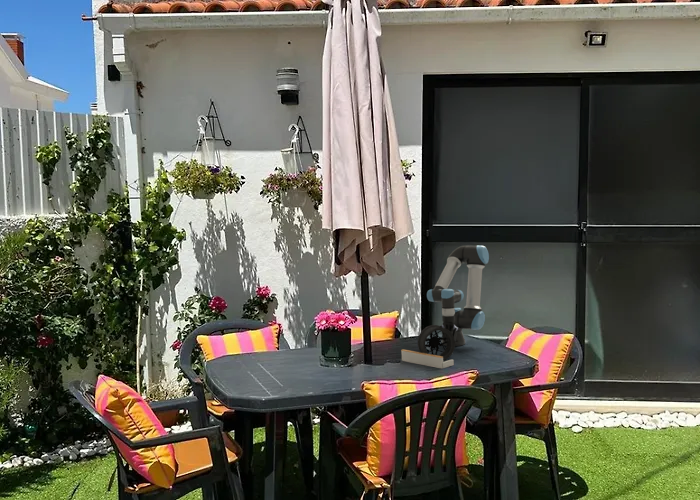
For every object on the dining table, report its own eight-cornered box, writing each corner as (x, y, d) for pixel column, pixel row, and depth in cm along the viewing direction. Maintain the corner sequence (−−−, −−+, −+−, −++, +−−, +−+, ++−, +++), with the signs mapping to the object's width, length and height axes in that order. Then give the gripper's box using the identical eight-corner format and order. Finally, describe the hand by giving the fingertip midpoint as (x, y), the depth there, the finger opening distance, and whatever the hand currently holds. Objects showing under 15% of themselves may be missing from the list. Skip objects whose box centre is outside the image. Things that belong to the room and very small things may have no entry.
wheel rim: (449, 356, 387) (448, 323, 386) (455, 359, 378) (454, 326, 377) (418, 360, 382) (416, 326, 381) (423, 363, 373) (422, 329, 372)
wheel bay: (413, 357, 389) (413, 346, 389) (453, 365, 366) (453, 353, 366) (401, 360, 383) (401, 349, 382) (442, 368, 359) (441, 356, 359)
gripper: (436, 314, 389) (437, 353, 390) (453, 316, 379) (454, 356, 381) (444, 313, 394) (445, 351, 395) (461, 315, 384) (462, 354, 386)
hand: (450, 353), depth 388 cm, fingers closed
